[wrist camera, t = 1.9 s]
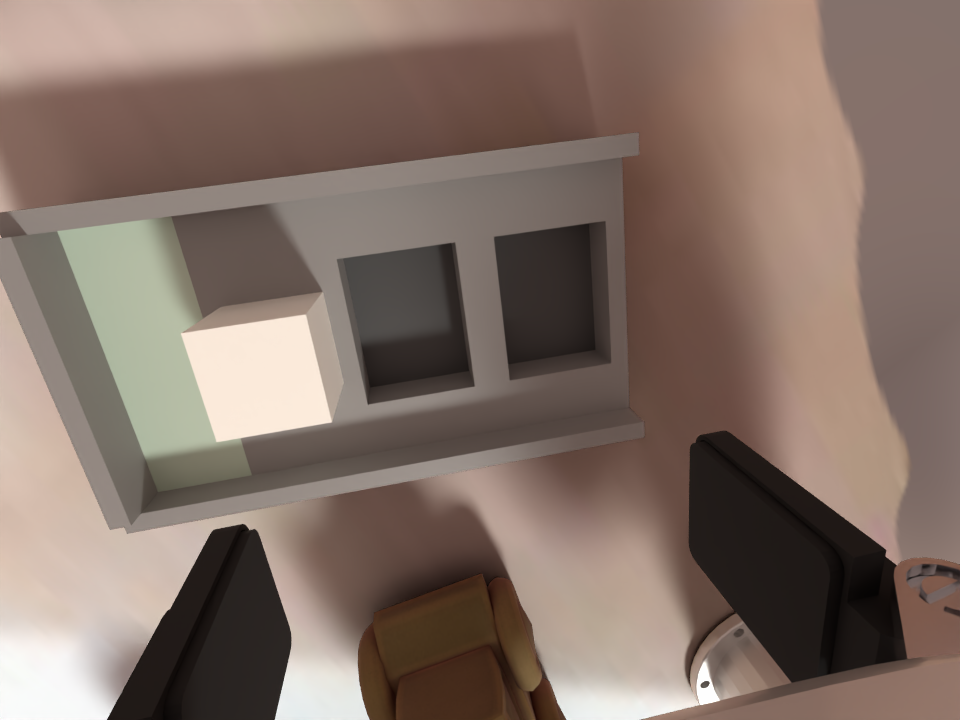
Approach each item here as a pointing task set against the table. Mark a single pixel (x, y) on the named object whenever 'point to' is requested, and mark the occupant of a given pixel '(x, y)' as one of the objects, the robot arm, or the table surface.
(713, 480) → the robot arm
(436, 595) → the wooden toy train
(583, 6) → the table surface
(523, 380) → the box
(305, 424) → the cream block
